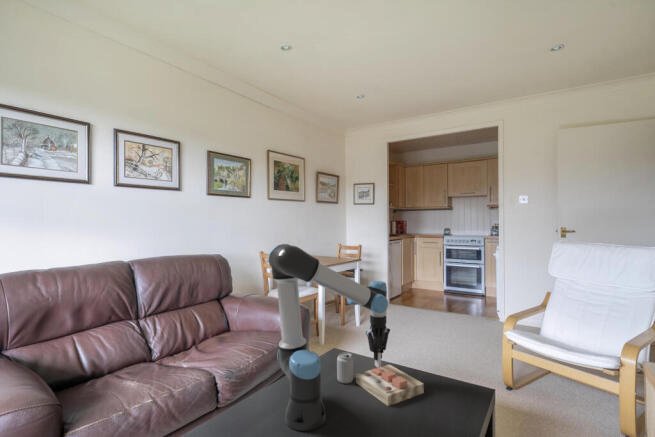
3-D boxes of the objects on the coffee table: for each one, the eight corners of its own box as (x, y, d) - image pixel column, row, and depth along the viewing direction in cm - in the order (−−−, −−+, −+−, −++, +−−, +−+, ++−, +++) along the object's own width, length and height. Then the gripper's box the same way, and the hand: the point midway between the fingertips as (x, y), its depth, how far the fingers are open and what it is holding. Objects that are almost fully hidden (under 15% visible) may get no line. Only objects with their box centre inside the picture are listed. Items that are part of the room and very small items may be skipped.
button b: (388, 384, 141) (388, 376, 141) (381, 380, 145) (381, 372, 145) (395, 382, 143) (395, 373, 143) (389, 378, 147) (389, 370, 147)
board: (387, 406, 130) (387, 394, 130) (356, 383, 149) (356, 373, 149) (423, 392, 140) (423, 382, 140) (389, 372, 159) (389, 363, 159)
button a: (399, 392, 135) (399, 383, 135) (392, 387, 139) (392, 378, 139) (407, 389, 137) (407, 380, 137) (400, 384, 141) (399, 376, 141)
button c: (378, 381, 147) (378, 373, 147) (372, 377, 151) (372, 369, 151) (385, 378, 149) (385, 370, 149) (379, 375, 153) (379, 367, 153)
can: (353, 384, 147) (353, 358, 147) (337, 384, 147) (337, 357, 147) (352, 376, 155) (352, 351, 155) (337, 376, 155) (336, 351, 155)
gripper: (372, 319, 144) (371, 372, 144) (394, 315, 151) (394, 366, 150) (362, 314, 151) (361, 366, 150) (383, 311, 157) (383, 360, 157)
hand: (377, 366), depth 150 cm, fingers closed
